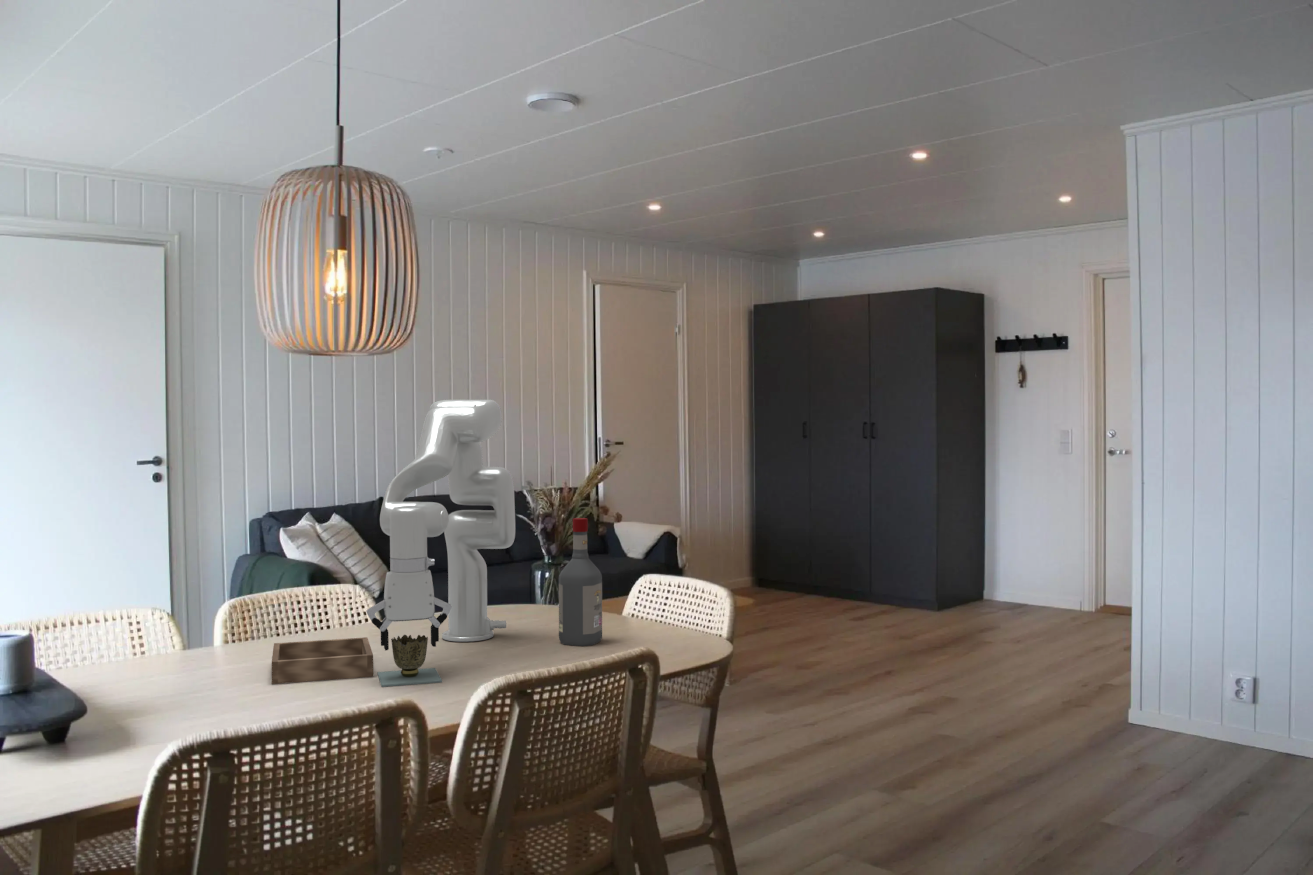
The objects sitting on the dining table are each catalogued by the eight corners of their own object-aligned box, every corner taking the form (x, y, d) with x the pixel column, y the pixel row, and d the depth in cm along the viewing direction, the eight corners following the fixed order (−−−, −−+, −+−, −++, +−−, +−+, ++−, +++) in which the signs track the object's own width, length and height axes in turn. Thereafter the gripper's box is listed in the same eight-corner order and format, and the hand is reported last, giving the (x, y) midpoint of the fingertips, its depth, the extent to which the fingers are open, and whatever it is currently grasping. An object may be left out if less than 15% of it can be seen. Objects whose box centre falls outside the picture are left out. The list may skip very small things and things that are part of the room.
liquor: (605, 639, 259) (604, 517, 259) (590, 647, 250) (589, 520, 250) (571, 637, 262) (570, 516, 262) (555, 644, 253) (554, 519, 253)
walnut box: (367, 656, 240) (367, 637, 240) (373, 676, 221) (373, 654, 221) (274, 663, 234) (273, 643, 234) (271, 684, 215) (271, 661, 215)
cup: (433, 672, 223) (433, 634, 223) (421, 680, 216) (420, 641, 216) (399, 671, 224) (399, 633, 224) (386, 679, 217) (385, 640, 217)
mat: (435, 669, 227) (435, 667, 227) (442, 682, 216) (442, 680, 216) (377, 673, 223) (377, 671, 223) (381, 686, 212) (381, 684, 212)
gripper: (448, 560, 226) (449, 640, 226) (364, 565, 220) (366, 646, 221) (453, 565, 219) (454, 647, 219) (367, 570, 213) (368, 654, 214)
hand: (410, 647), depth 220 cm, fingers open, 9 cm apart
